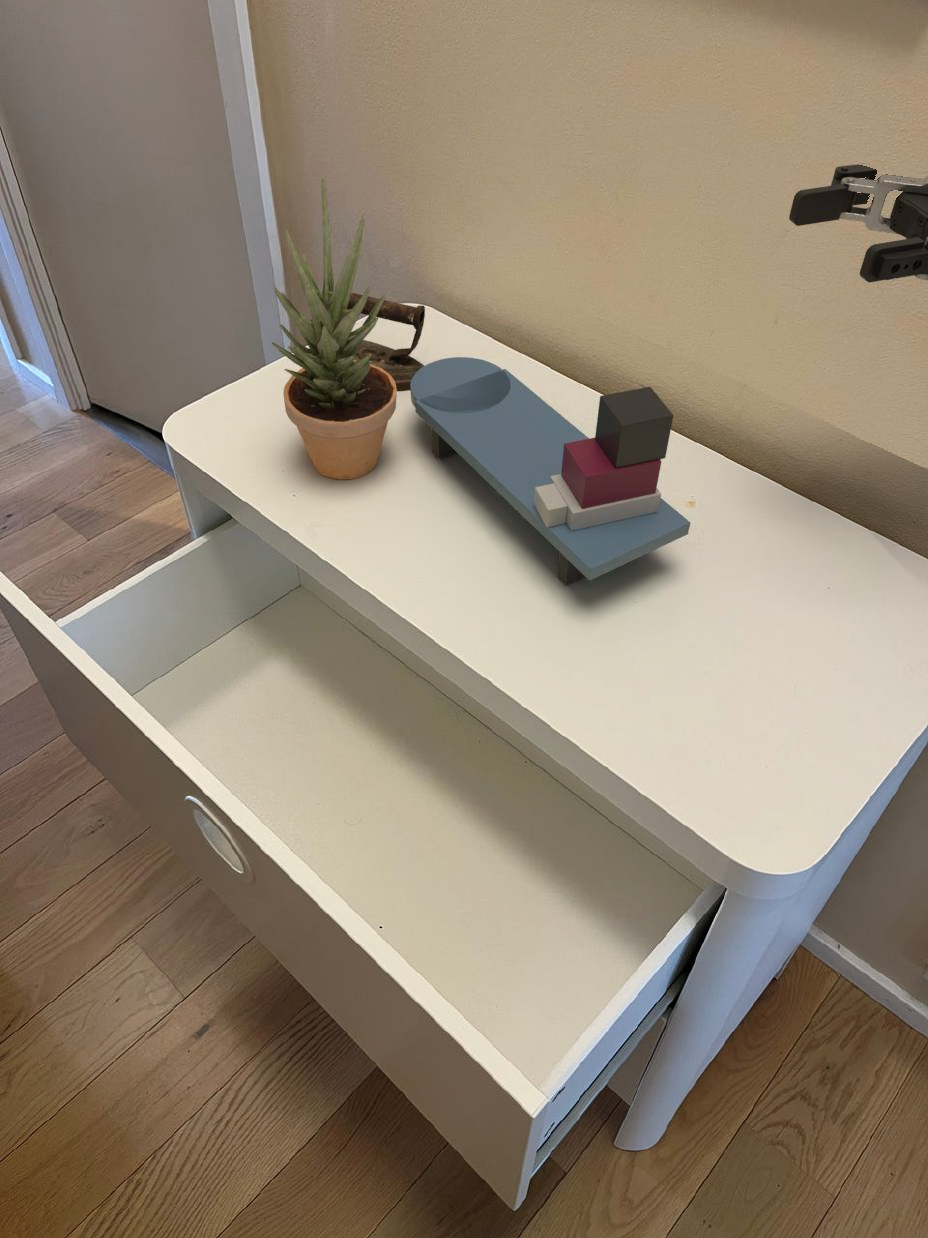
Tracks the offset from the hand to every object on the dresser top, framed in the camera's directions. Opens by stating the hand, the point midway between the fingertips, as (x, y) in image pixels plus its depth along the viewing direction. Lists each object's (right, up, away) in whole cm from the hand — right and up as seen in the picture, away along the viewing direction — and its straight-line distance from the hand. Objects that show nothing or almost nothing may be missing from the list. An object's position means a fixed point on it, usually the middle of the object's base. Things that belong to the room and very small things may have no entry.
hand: (828, 235), depth 64 cm
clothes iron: (-32, -1, +32) cm, 46 cm away
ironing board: (-19, -14, +20) cm, 31 cm away
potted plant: (-35, -11, +23) cm, 43 cm away
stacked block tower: (-14, -16, +11) cm, 24 cm away
